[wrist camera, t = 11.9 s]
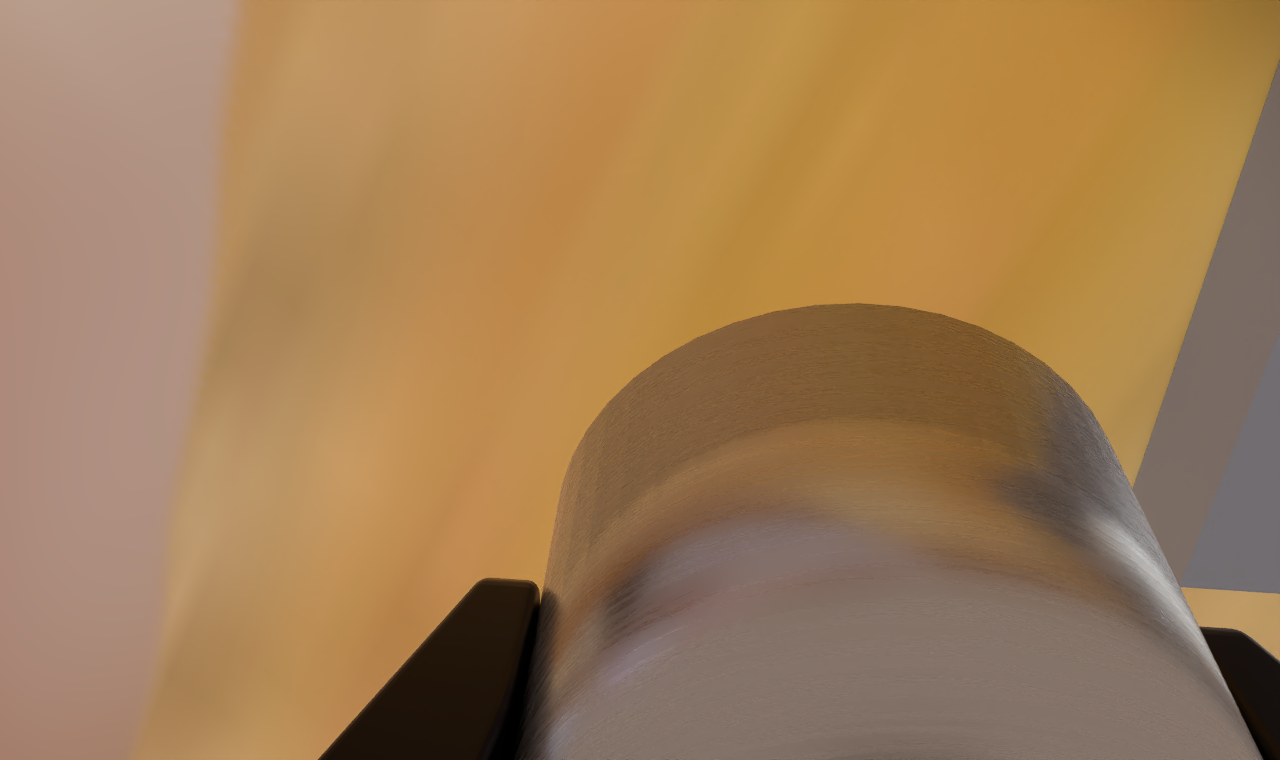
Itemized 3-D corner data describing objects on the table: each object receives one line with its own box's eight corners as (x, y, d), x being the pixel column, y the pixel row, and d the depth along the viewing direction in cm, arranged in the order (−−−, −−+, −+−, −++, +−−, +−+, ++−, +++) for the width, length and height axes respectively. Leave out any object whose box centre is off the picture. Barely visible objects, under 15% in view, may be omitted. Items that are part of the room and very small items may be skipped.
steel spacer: (852, 803, 11) (912, 1328, 8) (451, 576, 10) (310, 1086, 6) (1248, 517, 9) (1575, 1062, 6) (806, 182, 8) (881, 623, 4)
